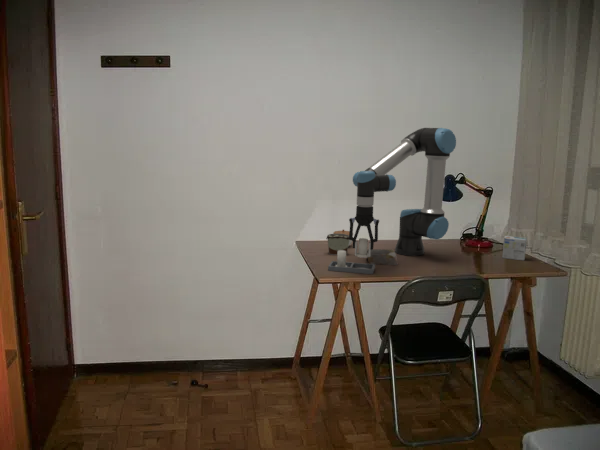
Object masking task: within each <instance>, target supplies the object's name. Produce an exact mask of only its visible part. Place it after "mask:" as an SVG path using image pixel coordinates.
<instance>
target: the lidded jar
mask: <svg viewBox="0 0 600 450" xmlns="http://www.w3.org/2000/svg"><path fill="white" fill-rule="evenodd" d="M349 232H350V230H345V229H342V230H335V231H333V233H332V234H346V235H349ZM352 237H353V238H354V234H353V235H352ZM352 244H353V241H352V240H349V245H348V247H349V246H350V245H352Z"/></svg>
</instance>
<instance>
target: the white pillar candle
mask: <svg viewBox="0 0 600 450" xmlns="http://www.w3.org/2000/svg"><path fill="white" fill-rule="evenodd" d="M368 247H369V239H368V238H366V237H365V238H364V237H362V238H361V237H360V238H358V248H357V255H356V256H355V257H357V258H360V259H362V258H363V259H366V258H367V257H368V253H367V250H368Z"/></svg>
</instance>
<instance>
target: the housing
mask: <svg viewBox="0 0 600 450" xmlns="http://www.w3.org/2000/svg"><path fill="white" fill-rule="evenodd" d="M336 256H337V257H336V258H337V259H336V260H332V261H330V263H329V264H328V266H327V267H328V268H327V271H328V272H330V271H331V272H341V273H342V272H343V273H353V274H354V273H355V274H365V275H367V274H368V275H373V274H374V272H375V270H376V265H375V264H369V263H361V262H352V261H347V255H346V251H344V250H339V251H337V255H336Z"/></svg>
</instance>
